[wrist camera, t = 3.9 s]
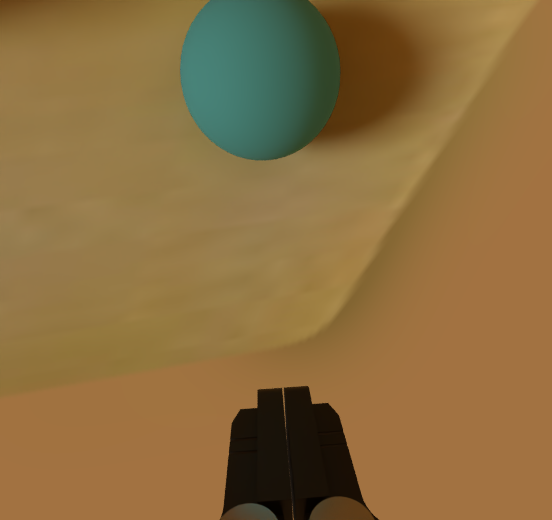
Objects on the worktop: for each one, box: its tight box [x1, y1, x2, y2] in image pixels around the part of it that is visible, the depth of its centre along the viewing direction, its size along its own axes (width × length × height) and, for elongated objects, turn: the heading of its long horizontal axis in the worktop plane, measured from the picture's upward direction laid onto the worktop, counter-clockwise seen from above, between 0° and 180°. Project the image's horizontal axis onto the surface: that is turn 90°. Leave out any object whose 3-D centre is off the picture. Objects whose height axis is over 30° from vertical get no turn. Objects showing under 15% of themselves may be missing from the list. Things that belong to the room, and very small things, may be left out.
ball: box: [180, 0, 340, 160], centre depth 13 cm, size 6×6×6 cm
